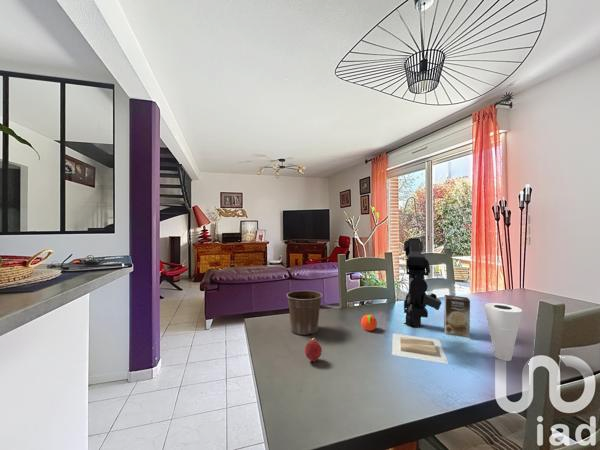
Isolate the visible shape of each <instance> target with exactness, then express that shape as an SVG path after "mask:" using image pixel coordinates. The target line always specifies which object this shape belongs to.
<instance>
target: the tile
mask: <svg viewBox="0 0 600 450" xmlns="http://www.w3.org/2000/svg"><path fill="white" fill-rule="evenodd" d="M400 346H401V351H405V352H411V353H418V354H424V355H431V356H437V352H436V349H435V345H434V342H433V341H426V340H419V339H412V338H404V337H400Z"/></svg>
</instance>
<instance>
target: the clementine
mask: <svg viewBox="0 0 600 450" xmlns="http://www.w3.org/2000/svg"><path fill="white" fill-rule="evenodd" d="M360 322H361V326H362V328H363V329H364V330H365V331H368V332H372V331H374V330H375V329H376V328H377V324H378V321H377V318H376V317H374V315H372V314H365V315H363V316H362V318H361V320H360Z"/></svg>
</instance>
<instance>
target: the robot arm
mask: <svg viewBox="0 0 600 450" xmlns="http://www.w3.org/2000/svg"><path fill="white" fill-rule="evenodd" d="M423 251H424V242H423V241H422V240H421V238H419V237H408V238H407V240H404V241H403V252H404V254H405V257H406V259H405V265H406V269H405V272H406V275H408V292H407V294H406V295H405V299H403V313H404V314H405V322H403V324H404V325H405V326H408V327H410V328H413V329H419V328H422V327H424V324H422V318H428V315H429V312H428V309H427V308H426V307H427V306H429V307H431V308H433V309H435V310H436V311H439V310H440V308H441V305H442V303H443V302H442V301H441V299H440V298H438V297H437V294H435V293H433V292H432V293H431V294H427V293H426V292H427V291H428V283H427V281H426V279H425V276H426V277H427V276H429V275H430V273H431V269H430V261H429V260H428V258H426V255H425V254H424V253H423Z"/></svg>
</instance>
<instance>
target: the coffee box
mask: <svg viewBox="0 0 600 450" xmlns="http://www.w3.org/2000/svg"><path fill="white" fill-rule="evenodd" d="M443 314H444V316H443V317H444V318H443V319H444V321H443V322H444V324H443V331H444V334H445V335H448V336H449V335H450V336H455V337H462V338H467V339H470V334H471V333H470V332H471V330H470V329H471V326H470V325H471V324H470V323H471V322H470V321H471V319H470V318H471V300H470V298H468V297H467V296H466V297H465V296H460V295H459V296H457V295H451V294H449V295H448V294H444V313H443Z"/></svg>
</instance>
